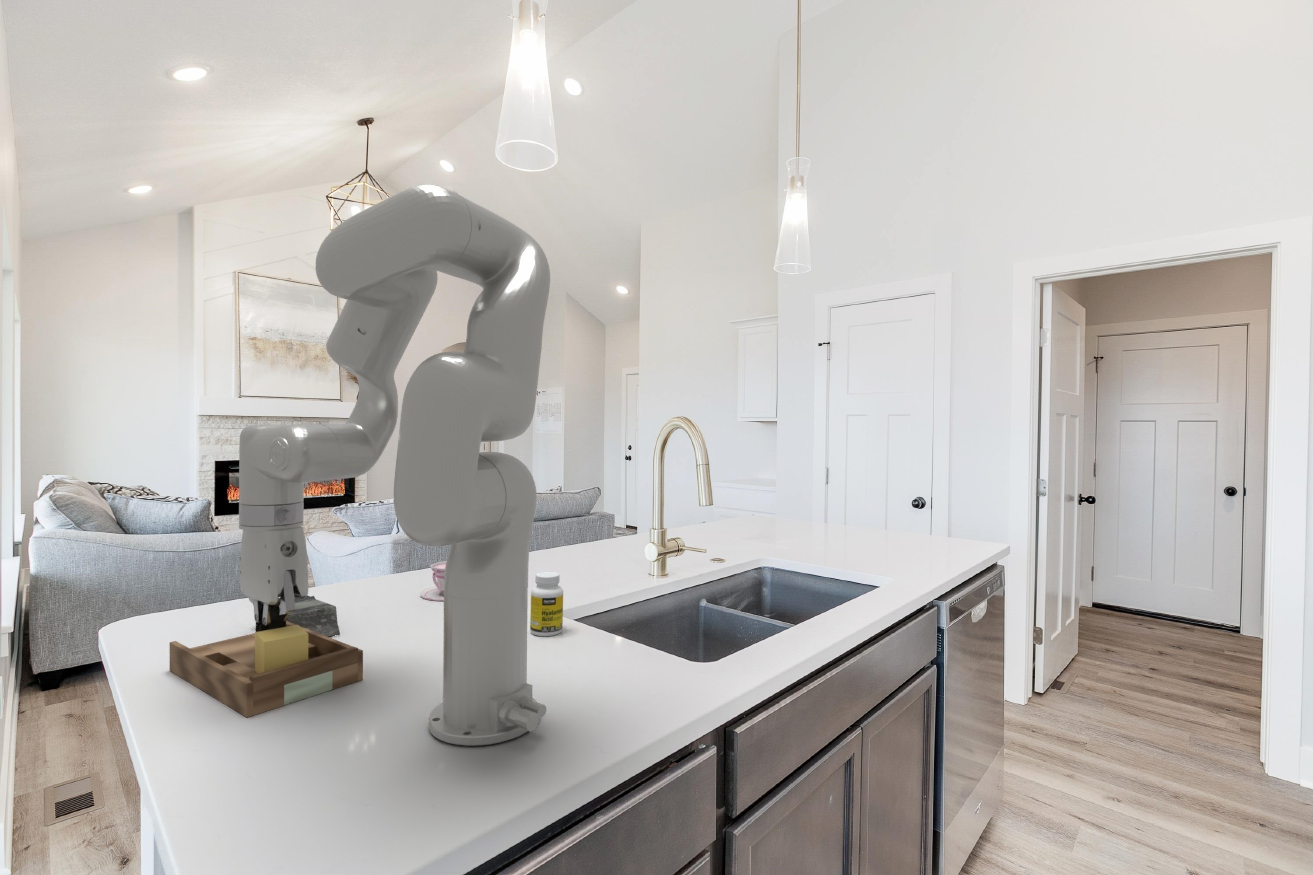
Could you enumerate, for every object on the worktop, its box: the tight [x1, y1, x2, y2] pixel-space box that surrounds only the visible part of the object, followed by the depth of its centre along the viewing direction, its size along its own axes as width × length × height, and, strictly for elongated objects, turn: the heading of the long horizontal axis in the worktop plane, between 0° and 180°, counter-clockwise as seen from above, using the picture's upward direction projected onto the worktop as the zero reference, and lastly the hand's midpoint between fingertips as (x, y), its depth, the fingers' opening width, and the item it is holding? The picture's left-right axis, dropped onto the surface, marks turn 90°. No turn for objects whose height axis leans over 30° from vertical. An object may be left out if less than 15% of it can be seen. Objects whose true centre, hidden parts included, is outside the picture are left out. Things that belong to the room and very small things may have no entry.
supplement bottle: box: [529, 571, 564, 637], centre depth 109 cm, size 5×5×10 cm
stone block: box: [255, 594, 341, 638], centre depth 108 cm, size 9×14×5 cm, turn 48°
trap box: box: [169, 621, 364, 718], centre depth 89 cm, size 24×14×4 cm, turn 55°
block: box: [254, 625, 308, 674], centre depth 84 cm, size 5×5×5 cm
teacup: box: [419, 560, 447, 602], centre depth 133 cm, size 12×12×6 cm
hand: (270, 650), depth 88 cm, fingers closed
